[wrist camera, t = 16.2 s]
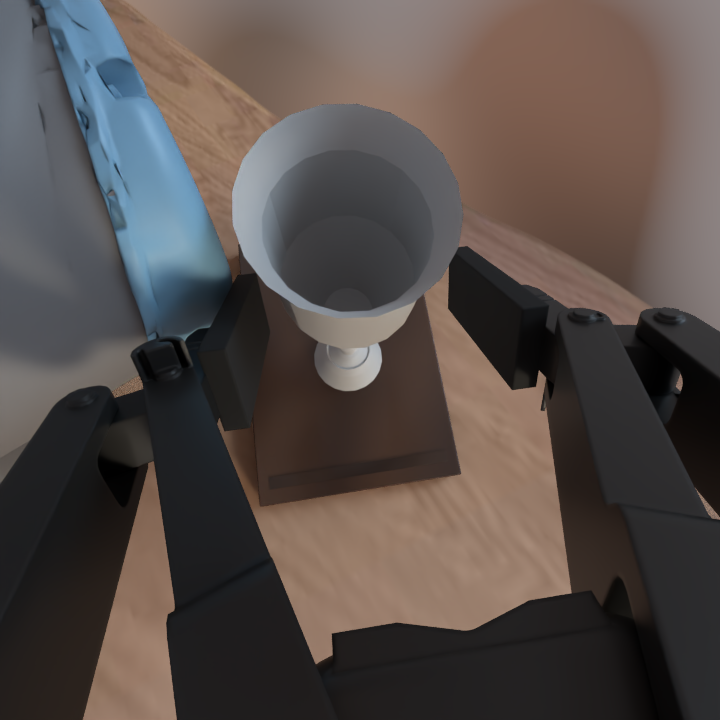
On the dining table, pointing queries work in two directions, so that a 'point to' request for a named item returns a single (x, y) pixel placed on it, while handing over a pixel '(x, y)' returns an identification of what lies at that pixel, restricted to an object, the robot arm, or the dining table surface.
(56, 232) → the robot arm
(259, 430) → the serving board
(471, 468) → the dining table surface
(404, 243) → the chalice
